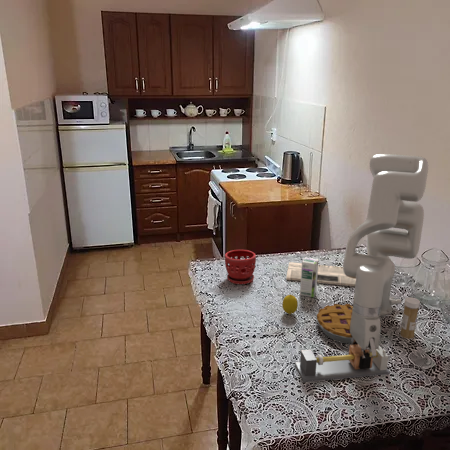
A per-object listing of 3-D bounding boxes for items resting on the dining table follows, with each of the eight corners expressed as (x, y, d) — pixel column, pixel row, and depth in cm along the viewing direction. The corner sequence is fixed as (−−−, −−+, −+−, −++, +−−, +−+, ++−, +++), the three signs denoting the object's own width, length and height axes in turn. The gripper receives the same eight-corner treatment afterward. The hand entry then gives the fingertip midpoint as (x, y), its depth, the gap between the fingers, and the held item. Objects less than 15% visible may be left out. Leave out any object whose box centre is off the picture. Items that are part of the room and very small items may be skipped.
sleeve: (363, 357, 130) (365, 343, 128) (371, 368, 125) (373, 353, 123) (348, 359, 129) (349, 344, 127) (355, 369, 124) (357, 354, 123)
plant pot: (260, 278, 186) (261, 252, 182) (245, 289, 176) (246, 262, 172) (234, 271, 193) (235, 246, 189) (218, 281, 182) (218, 255, 178)
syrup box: (299, 295, 171) (301, 261, 167) (302, 289, 176) (304, 256, 172) (313, 297, 169) (316, 264, 164) (316, 291, 174) (319, 258, 170)
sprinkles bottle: (414, 340, 141) (420, 304, 137) (400, 338, 143) (405, 302, 138) (413, 333, 145) (419, 297, 141) (399, 331, 147) (404, 295, 142)
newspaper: (286, 281, 184) (286, 275, 183) (289, 263, 202) (290, 258, 201) (375, 290, 177) (376, 284, 176) (371, 271, 195) (371, 265, 194)
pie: (308, 313, 158) (309, 301, 156) (366, 312, 159) (367, 300, 158) (325, 348, 137) (326, 335, 136) (391, 346, 138) (393, 333, 137)
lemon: (296, 319, 154) (298, 299, 151) (281, 317, 155) (282, 297, 152) (297, 311, 159) (298, 292, 156) (282, 309, 160) (283, 290, 157)
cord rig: (376, 357, 132) (379, 338, 130) (389, 374, 125) (392, 353, 123) (295, 364, 129) (296, 344, 126) (303, 382, 121) (305, 361, 119)
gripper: (394, 322, 114) (386, 379, 119) (365, 292, 130) (359, 344, 135) (367, 324, 113) (360, 382, 118) (341, 294, 129) (336, 346, 134)
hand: (359, 361), depth 127 cm, fingers closed on sleeve, 5 cm apart
